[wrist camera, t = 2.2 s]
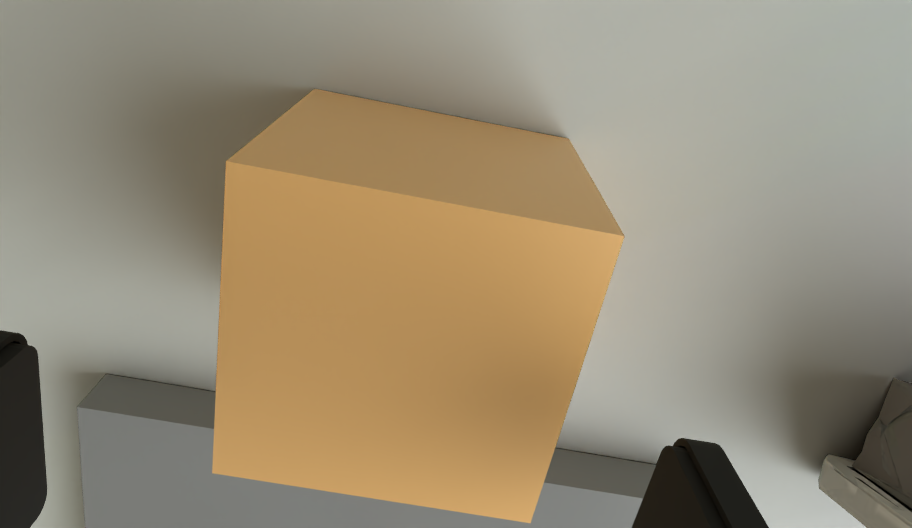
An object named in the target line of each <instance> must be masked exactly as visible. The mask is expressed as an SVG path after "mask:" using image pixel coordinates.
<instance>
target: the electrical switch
mask: <svg viewBox="0 0 912 528" xmlns="http://www.w3.org/2000/svg"><path fill="white" fill-rule="evenodd" d="M818 481H819V489H820V490H822V491H823V492H824V493H825V494H827V495H828V496H829V497H830V498H831V499H833V500H834V501H835V502H836V503H838V504H839V505H840V506H841V507H842V508H844V509H845V510H846V511H847V512H849V513H850V514H851V515H852V516H853V517H855V518H856V519H857V520H858V521H860V522H861V523H862V524H863V525H864V526H866V527H867V528H912V383H909V382H905V381H900V380H898V379H896V378H893V381H892V383H891V386H890V389H889V391H888V394H887V396H886V399H885V402H884V404H883V407H882V409H881V412H880V415H879V417H878V419H877V420H876V422H875V423H874V425H873V426H872V427H871V429H870V430H869V432H868V433H867V436H866V440H865V443H864V446H863V449H862V452H861V453H860V455H859V456H858V457H857V459H856V460H851V459H847V458H842V457H838V456H834V455H829V454H828V455H827V457H826V458H825V459H824V462H823V465H822V469H821V472H820V476H819V479H818Z"/></svg>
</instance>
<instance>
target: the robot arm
mask: <svg viewBox="0 0 912 528" xmlns="http://www.w3.org/2000/svg"><path fill="white" fill-rule="evenodd" d="M46 496H47V481H46V466H45V451H44V436H43V422H42V407H41V392H40V378H39V363H38V354H37V350H36V349H35V347H33V346H29V345H28V344H27V340H26V339H25V337H24V336H23V335H21V334H19V333H13V332H7V331H0V528H30V527H31V525H32V524H33V523H34V522H35V520H36V519H37V518H38V516H39V515H40V513H41V511H42V509H43V506H44V504H45V501H46ZM632 528H769V527H768V526H767V524H766V522H765V521H764V519H763V517H762V515H761V514H760V512H759V510H758V509H757V507H756V505H755V503H754V502H753V500H752V498H751V497H750V495H749V493H748V492H747V490H746V488H745V486H744V485H743V483H742V481H741V480H740V478H739V476H738V474H737V473H736V471H735V469H734V468H733V466H732V464H731V463H730V461H729V459H728V457H727V456H726V454H725V452H724V451H723V449H722V448H721V447H720V446H719V445H718V444H715V443H710V442H704V441H697V440H691V439H685V438H681V439H678V440H677V441H676V442H675V443H674V445H673V446H666V447H665V448H664V449H663V450H662V452H661V454H660V457H659V459H658V462H657V464H656V467H655V469H654V472H653V474H652V477H651V479H650V482H649V485H648V487H647V490H646V492H645V495H644V497H643V500H642V502H641V505H640V507H639V510H638V513H637V515H636V518H635V520H634V523H633V525H632Z"/></svg>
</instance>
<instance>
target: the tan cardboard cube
mask: <svg viewBox="0 0 912 528" xmlns="http://www.w3.org/2000/svg"><path fill="white" fill-rule="evenodd" d="M623 239H624V234H623V233H622V231H621V229H620V227H619V226H618V224H617V222H616V220H615V219H614V217H613V215H612V213H611V212H610V210H609V208H608V206H607V205H606V203H605V201H604V199H603V198H602V196H601V194H600V192H599V191H598V189H597V187H596V185H595V184H594V182H593V180H592V178H591V177H590V175H589V173H588V171H587V170H586V168H585V166H584V164H583V163H582V161H581V159H580V157H579V156H578V154H577V152H576V150H575V149H574V147H573V145H572V143H571V142H570V140H569V139H567V138H562V137H557V136H552V135H547V134H542V133H537V132H532V131H527V130H522V129H517V128H512V127H506V126H501V125H496V124H491V123H486V122H481V121H476V120H471V119H466V118H461V117H456V116H451V115H446V114H441V113H436V112H430V111H425V110H420V109H415V108H410V107H405V106H400V105H395V104H390V103H385V102H380V101H375V100H370V99H365V98H359V97H354V96H349V95H344V94H339V93H334V92H329V91H324V90H319V89H314V90H312V91H311V92H310V93H309V94H307V95H306V96H305V97H304V98H303V99H301V100H300V101H299V102H298V103H296V104H295V105H294V106H293V107H292V108H290V109H289V110H288V111H287V112H285V113H284V114H283V115H282V116H281V117H279V118H278V119H277V120H276V121H274V122H273V123H272V124H271V125H270V126H268V127H267V128H266V129H265V130H263V131H262V132H261V133H260V134H259V135H257V136H256V137H255V138H254V139H252V140H251V141H250V142H249V143H248V144H246V145H245V146H244V147H243V148H241V149H240V150H239V151H238V152H237V153H235V154H234V155H233V156H232V157H230V158H229V159H228V160H227V161H226V172H225V194H224V217H223V240H222V262H221V285H220V307H219V330H218V353H217V375H216V398H215V420H214V443H213V466H212V473H214V474H220V475H227V476H233V477H239V478H246V479H252V480H258V481H265V482H271V483H277V484H284V485H290V486H297V487H303V488H309V489H316V490H322V491H328V492H335V493H341V494H347V495H354V496H360V497H366V498H373V499H379V500H385V501H392V502H398V503H405V504H411V505H417V506H424V507H430V508H436V509H443V510H449V511H455V512H462V513H468V514H474V515H481V516H487V517H493V518H500V519H506V520H513V521H519V522H525V523H531V520H532V517H533V514H534V511H535V508H536V505H537V502H538V499H539V496H540V493H541V490H542V487H543V483H544V480H545V477H546V474H547V471H548V468H549V465H550V462H551V459H552V456H553V453H554V450H555V447H556V444H557V441H558V438H559V435H560V432H561V429H562V426H563V422H564V419H565V416H566V413H567V410H568V407H569V404H570V401H571V398H572V395H573V392H574V389H575V386H576V383H577V380H578V377H579V374H580V371H581V368H582V365H583V361H584V358H585V355H586V352H587V349H588V346H589V343H590V340H591V337H592V334H593V331H594V328H595V325H596V322H597V319H598V316H599V313H600V310H601V307H602V304H603V300H604V297H605V294H606V291H607V288H608V285H609V282H610V279H611V276H612V273H613V270H614V267H615V264H616V261H617V258H618V255H619V252H620V249H621V246H622V243H623Z"/></svg>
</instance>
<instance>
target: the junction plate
mask: <svg viewBox="0 0 912 528" xmlns="http://www.w3.org/2000/svg"><path fill="white" fill-rule="evenodd" d="M215 398H216V392H212V391H206V390H200V389H194V388H188V387H182V386H176V385H170V384H164V383H158V382H152V381H146V380H140V379H134V378H128V377H122V376H116V375H110V374H106V375H105V376H104V377H103V378H102V379H101V380H100V381H99V383H98V384H97V385H96V386H95V387H94V388H93V389H92V391H91V392H90V393H89V394H88V395H87V396H86V397H85V398H84V400H83V401H82V402H81V403H80V404H79V405H78V406H77V414H78V429H79V444H80V459H81V474H82V489H83V504H84V519H85V528H632V525H633V523H634V520H635V518H636V515H637V513H638V510H639V507H640V505H641V502H642V500H643V497H644V495H645V492H646V490H647V487H648V485H649V482H650V479H651V477H652V474H653V472H654V469H655V467H656V465H654V464H648V463H642V462H636V461H629V460H623V459H617V458H611V457H605V456H599V455H593V454H587V453H581V452H575V451H569V450H563V449H557V448H555V450H554V453H553V456H552V459H551V462H550V465H549V468H548V471H547V474H546V477H545V480H544V483H543V487H542V490H541V493H540V496H539V499H538V502H537V505H536V508H535V511H534V514H533V517H532V520H531V523H525V522H519V521H513V520H506V519H500V518H493V517H487V516H481V515H474V514H468V513H462V512H455V511H449V510H443V509H436V508H430V507H424V506H417V505H411V504H405V503H398V502H392V501H385V500H379V499H373V498H366V497H360V496H354V495H347V494H341V493H335V492H328V491H322V490H316V489H309V488H303V487H297V486H290V485H284V484H277V483H271V482H265V481H258V480H252V479H246V478H239V477H233V476H227V475H220V474H214V473H212V466H213V443H214V420H215Z"/></svg>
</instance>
